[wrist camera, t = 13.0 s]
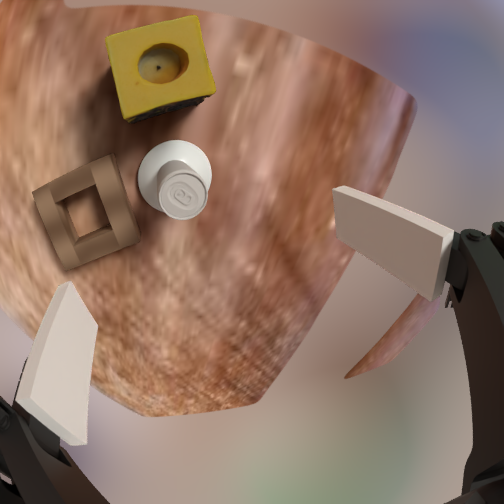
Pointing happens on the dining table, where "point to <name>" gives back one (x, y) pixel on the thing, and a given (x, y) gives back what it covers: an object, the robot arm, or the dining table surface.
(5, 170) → the dining table surface
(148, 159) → the white round domed part
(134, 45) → the candle
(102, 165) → the socket block
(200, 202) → the beverage can
